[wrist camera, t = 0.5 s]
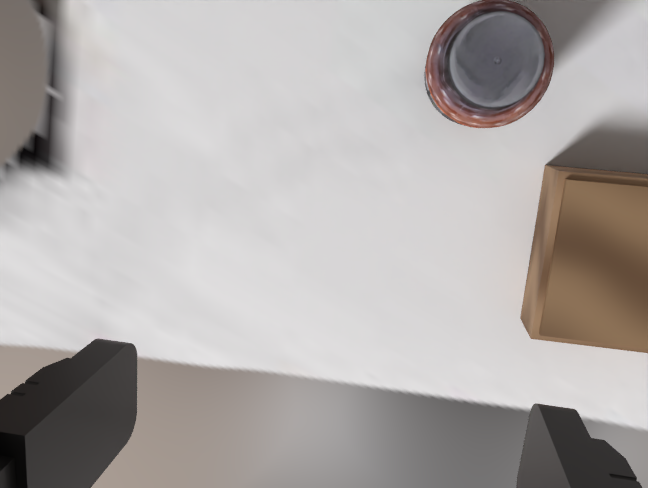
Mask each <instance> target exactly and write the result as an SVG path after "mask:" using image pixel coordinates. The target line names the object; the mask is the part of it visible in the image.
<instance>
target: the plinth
mask: <svg viewBox="0 0 648 488" xmlns="http://www.w3.org/2000/svg"><path fill="white" fill-rule="evenodd" d="M521 320H522V322H523V324H524V326H525V328H526V330H527V332H528V334H529V336H530V338H531V339H538V340H546V341H554V342H562V343H570V344H579V345H587V346H595V347H603V348H611V349H619V350H627V351H636V352H644V353H648V174H641V173H629V172H618V171H607V170H595V169H584V168H573V167H561V166H550V165H545V169H544V175H543V181H542V188H541V194H540V200H539V206H538V212H537V219H536V225H535V231H534V237H533V243H532V250H531V256H530V262H529V268H528V274H527V280H526V287H525V293H524V299H523V305H522V311H521Z"/></svg>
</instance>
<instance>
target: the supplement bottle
mask: <svg viewBox="0 0 648 488" xmlns="http://www.w3.org/2000/svg"><path fill="white" fill-rule="evenodd" d="M553 67H554V51H553V45H552V41H551V38H550V36H549V34H548V31H547V29H546V27H545V25H544V24H543V23H542V21H541V20H540V19H539V18H538V17H537V16H536V15H535V14H534V13H533V12H532V11H531V10H529V9H528V8H527V7H525V6H522V5H520V4H518V3H516V2H512V1H508V0H481V1H478V2H475V3H472V4H469V5H467V6H465V7H463V8H461V9H460V10H458V11H457V12H455V13H454V14H453V15H452V16H450V17H449V18H448V19H447V20H446V21H445V22H444V23H443V25H442V26H441V27H440V28H439V30H438V32H437V33H436V35H435V36H434V38H433V40H432V43H431V45H430V48H429V52H428V56H427V61H426V66H425V86H426V90H427V94H428V96H429V99H430V100H431V102H432V104H433V105H434V107H435V108H436V109H437V110H438V111H439V112H440V113H441V114H442V115H443V116H444V117H446V118H447V119H449V120H451V121H453V122H456V123H458V124H461V125H465V126H469V127H475V128H492V127H500V126H504V125H507V124H510V123H512V122H514V121H516V120H518V119H520V118H521V117H523V116H524V115H526V114H527V113H528V112H529V111H531V110H532V109H533V108H534V107H535V106H536V104H537V103H538V102H539V101H540V100H541V98H542V97H543V95H544V93H545V92H546V90H547V88H548V86H549V83H550V80H551V77H552V72H553Z"/></svg>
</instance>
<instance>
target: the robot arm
mask: <svg viewBox="0 0 648 488" xmlns="http://www.w3.org/2000/svg"><path fill="white" fill-rule="evenodd" d="M136 415H137V351H136V348H135V346H134V345H133V344H131V343H125V342H118V341H111V340H104V339H95V340H94V341H92V342H91V343H90V344H89V345H87V346H86V347H85V348H83V349H82V350H81V351H80V352H78V353H77V354H76V355H75V356H73V357H72V358H66V359H63V360H61V361H58V362H56V363H53V364H51V365H48V366H46V367H43V368H42V369H40V370H39V371H38V372H36V373H35V374H34V375H32V376H31V377H30V378H28V379H27V380H26V382H25V384H24V383H22V384H20V385H19V386H18V387H16V388H15V389H14V390H12V391H11V394H7V395H6V396H5V397H3V398H2V399H1V400H0V488H91V487H92V485H93V484H94V483H95V482H96V480H97V479H98V478H99V477H100V475H101V474H102V473H103V472H104V471H105V469H106V468H107V467H108V465H109V464H110V463H111V462H112V461H113V459H114V458H115V457H116V456H117V455H118V453H119V452H120V451H121V450H122V448H123V447H124V446H125V445H126V443H127V442H128V440H129V438H130V437H131V434H132V432H133V429H134V425H135V421H136ZM636 479H637V478H636V476H635V474H634V473H633V471H632V469H631V467H630V466H629V464H628V462H627V460H626V458H624V457H623V456H622V455H621V454H620V453H618V452H617V451H616V450H615V449H614V448H613V447H612V446H610V445H609V444H608V443H607V442H606V441H605V440H599V439H594V438H591V437H590V435H589V433H588V431H587V430H586V427H585V426H584V424H583V422H582V420H581V418H580V416H579V414H578V412H577V411H576V410H575V409H569V408H563V407H556V406H549V405H542V404H534V405H533V406H532V409H531V411H530V415H529V421H528V425H527V430H526V435H525V440H524V445H523V450H522V455H521V461H520V466H519V471H518V477H517V488H642V486H641V485H640V483H639V482H637V481H636Z"/></svg>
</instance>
